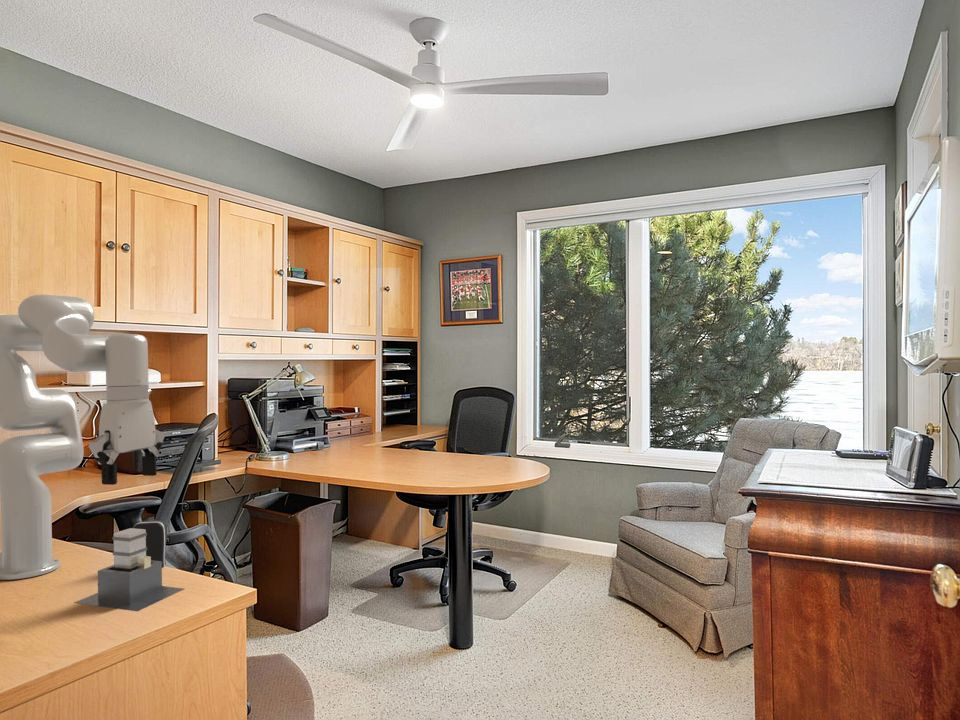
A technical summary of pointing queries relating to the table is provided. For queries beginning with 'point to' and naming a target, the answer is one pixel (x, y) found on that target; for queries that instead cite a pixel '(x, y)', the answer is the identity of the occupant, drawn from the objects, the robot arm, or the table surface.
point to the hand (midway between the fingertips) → (130, 479)
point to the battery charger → (155, 539)
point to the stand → (130, 587)
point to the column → (129, 549)
